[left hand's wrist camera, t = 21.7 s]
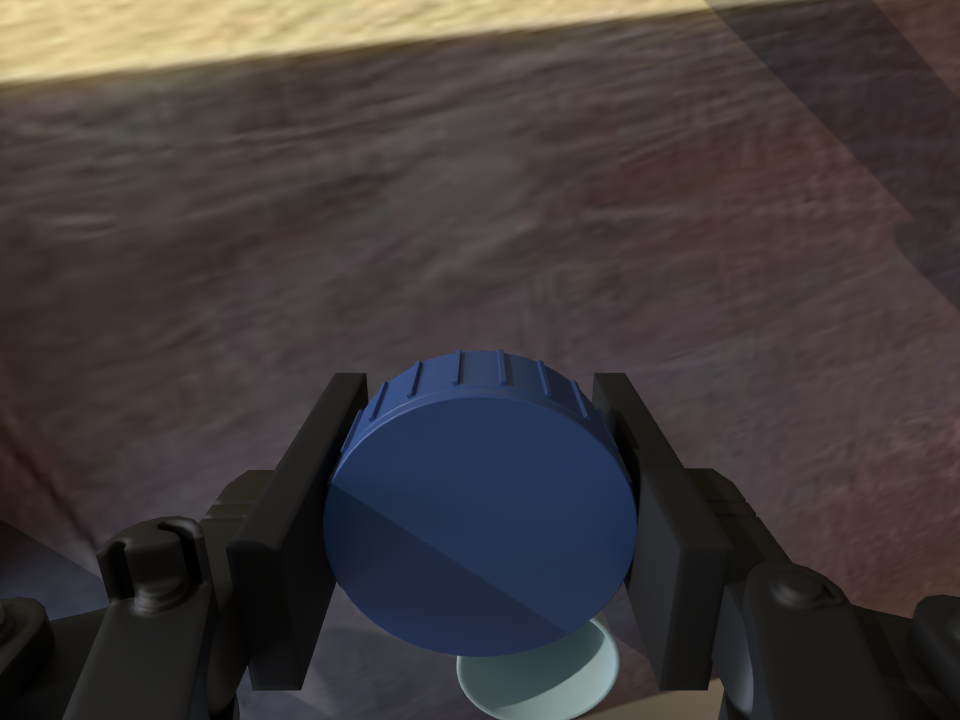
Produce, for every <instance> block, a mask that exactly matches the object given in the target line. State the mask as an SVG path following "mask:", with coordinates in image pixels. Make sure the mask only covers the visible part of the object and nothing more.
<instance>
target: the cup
mask: <svg viewBox="0 0 960 720" xmlns="http://www.w3.org/2000/svg"><path fill="white" fill-rule="evenodd" d="M619 666H620V657H619V651H618V647H617V644H616V642H615V639H614V637H613V634H612V632H611V630H610V627H609V625H608V623H607V620H606V618H605V616H604V613H603V611H602V610H601V611H600V612H599V613H598V614H597V615H596V616H595V617H593V618H592V619H591V620H590V621H588V622H587V623H586V624H584V625H583V626H582V627H580V628H579V629H577V630H575V631H574V632H572V633H571V634H569V635H567V636H565V637H563V638H561V639H559V640H557V641H555V642H553V643H551V644H548V645H545V646H542V647H539V648H536V649H534V650H530V651H525V652H521V653H517V654H511V655H504V656H496V657H467V656H458V657H457V675H458V679H459V682H460V685H461V687H462V689H463V691H464V693H465V694H466V695H467V697H468V698H469V699H470V700H471V701H472V702H473V703H474V704H475V705H476V706H477V707H478V708H479V709H481V710H482V711H484V712H485V713H487V714H489V715H491V716H493V717H495V718H498V719H500V720H570V719H572V718H575V717H577V716H579V715H581V714H584V713H585V712H587V711H589V710H590V709H592V708H593V707H595V706H596V705H597V704H598V703H599V702H601V701H602V700H603V699H604V698H605V696H606V695H607V694H608V693H609V691H610V690H611V688H612V687H613V685H614V683H615V681H616V679H617V676H618V672H619Z"/></svg>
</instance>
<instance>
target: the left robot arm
mask: <svg viewBox="0 0 960 720" xmlns="http://www.w3.org/2000/svg"><path fill="white" fill-rule="evenodd" d="M592 404H593V406H594V407H595V409H598V408H600V410H601V411H602V413H603V415H604V418H605V420H606V422H607V424H608V426H609V429H610V431H611V433H612V435H613V438H614V440H615V442H616V444H617V446H618V449H619V452H620V454H621V457H622V459H623V461H624V463H625V466H626V468H627V470H628V472H629V474H630V477H631V479H632V481H633V484H634V486H633V487H632V490H633V494H634V497H635V501H636V505H637V514H638V526H637V536H636V544H635V552H634V558H633V561H632V563H631V566H630V569H629V571H628V574H627V576H626V577H625V579H624V583H625V587H626V590H627V593H628V596H629V599H630V602H631V605H632V608H633V611H634V614H635V617H636V620H637V623H638V626H639V629H640V632H641V635H642V639H643V642H644V645H645V648H646V651H647V654H648V657H649V660H650V663H651V666H652V669H653V672H654V675H655V678H656V681H657V684H658V687H659V690H708V686H709V680H710V675H711V670H712V665H713V664H714V666H715V668H716V671H717V673H718V675H719V677H720V679H721V682H722V684H723V686H724V688H725V689H724V694H723V698H722V703H721V708H720V713H719V718H718V720H960V597H954V596H948V595H936V596H928V597H925V598H924V599H923V600H921V601H920V602H919V603H918V604H917V606H916V609H915V612H914V615H913V618H912V619H910V618H905V617H901V616H897V615H892V614H888V613H883V612H879V611H874V610H870V609H866V608H862V607H859V606H855V605H852V604H851V603H850V601H849V600H848V598H847V597H846V596H845V594H844V593H843V591H842V590H841V589H840V588H839V587H838V586H837V585H836V584H834V583H833V582H832V581H831V580H829V579H828V578H827V577H825V576H823V575H821V574H820V573H818V572H816V571H814V570H812V569H810V568H808V567H804V566H801V565H797V564H794V563H792V561H791V560H790V559H789V557H788V556H787V555H786V553H785V552H784V551H783V549H782V548H781V547H780V545H779V544H778V543H777V541H776V540H775V538H774V537H773V536H772V534H771V533H770V532H769V530H768V529H767V528H766V526H765V525H764V524H763V522H762V521H761V520H760V518H759V517H756V513H755V512H754V510H753V509H752V508H751V506H750V505H749V503H746V501H745V500H746V499H745V498H744V497H743V495H742V494H741V493H740V491H739V490H738V489H737V487H736V486H735V485H734V483H733V482H731V481H730V480H728V479H727V478H725V477H724V476H722V475H721V474H719V473H718V472H717V471H715V470H714V469H686V468H684V467H683V465H682V463H681V462H680V460H679V459H678V457H677V455H676V454H675V452H674V451H673V449H672V448H671V446H670V444H669V443H668V441H667V440H666V438H665V436H664V435H663V433H662V432H661V430H660V428H659V427H658V425H657V424H656V422H655V420H654V419H653V417H652V416H651V414H650V412H649V411H648V409H647V408H646V406H645V404H644V403H643V401H642V400H641V398H640V396H639V395H638V393H637V392H636V390H635V389H634V387H633V385H632V384H631V382H630V381H629V379H628V377H627V376H626V374H625V373H594V383H593V396H592ZM367 405H368V391H367V378H366V373H335V375H334V376H333V378H332V380H331V381H330V383H329V384H328V386H327V387H326V389H325V391H324V392H323V394H322V395H321V397H320V399H319V400H318V402H317V403H316V405H315V407H314V408H313V410H312V411H311V413H310V415H309V416H308V418H307V419H306V421H305V423H304V424H303V426H302V427H301V429H300V431H299V432H298V434H297V435H296V437H295V439H294V440H293V442H292V443H291V445H290V447H289V448H288V450H287V451H286V453H285V454H284V456H283V458H282V459H281V461H280V462H279V464H278V466H277V467H276V469H275V470H248V471H247V472H245V473H244V474H242V475H241V476H239V477H238V478H237V479H235V480H234V481H232V482H231V483H229V484H228V485H227V486H226V487H225V489H224V490H223V492H222V493H221V494H220V496H219V497H218V498H217V500H216V501H215V505H212V506H211V508H210V509H209V511H208V512H207V513H206V515H205V519H202V520H201V521H200V523H199V524H198V523H197V522H196V521H195V520H194V519H189V518H185V517H180V516H174V517H160V518H156V519H152V520H148V521H144V522H141V523H138V524H136V525H134V526H132V527H129V528H127V529H125V530H123V531H121V532H119V533H118V534H117V535H115V536H114V537H112V538H111V539H110V540H108V541H107V542H106V543H105V544H104V545H103V546H102V548H101V549H100V550H99V551H98V553H97V554H96V557H97V560H98V564H99V567H100V570H101V574H102V577H103V581H104V584H105V588H106V591H107V594H108V598H109V601H110V604H109V607H107V608H103V609H100V610H96V611H92V612H88V613H83V614H79V615H75V616H70V617H66V618H61V619H57V620H53V621H49V619H48V616H47V613H46V611H45V608H44V606H43V605H42V604H41V603H39V602H38V601H37V600H36V599H31V598H23V597H16V598H9V599H3V600H0V720H239V718H240V711H239V704H238V698H237V693H236V690H237V688H238V685H239V683H240V681H241V679H242V676H243V674H244V672H245V670H246V667H247V665H248V668H249V673H250V679H251V684H252V689H253V690H301V689H302V685H303V682H304V679H305V676H306V673H307V670H308V667H309V664H310V661H311V658H312V655H313V652H314V649H315V646H316V643H317V640H318V637H319V633H320V630H321V627H322V624H323V621H324V618H325V615H326V612H327V609H328V606H329V603H330V600H331V597H332V594H333V591H334V588H335V585H336V581H337V580H336V578H335V576H334V574H333V572H332V570H331V568H330V565H329V562H328V559H327V556H326V549H325V541H324V532H323V522H322V517H323V510H324V503H325V499H326V495H327V492H328V489H327V483H328V481H329V478H330V476H331V474H332V472H333V469H334V467H335V465H336V463H337V461H338V458H339V456H340V454H341V449H342V447H343V445H344V442H345V440H346V438H347V436H348V434H349V431H350V429H351V427H352V425H353V422H354V420H355V418H356V416H357V414H358V412H359V410H360V409H361V410H363V411H364V410H365V408H366V407H367Z"/></svg>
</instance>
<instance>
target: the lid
mask: <svg viewBox="0 0 960 720" xmlns="http://www.w3.org/2000/svg"><path fill="white" fill-rule="evenodd" d="M633 486H634V484H633V481H632V479H631V477H630V474H629V472H628V470H627V468H626V466H625V463H624V461H623V459H622V457H621V454H620V452H619V449H618V446H617V444H616V442H615V440H614V438H613V435H612V433H611V431H610V429H609V426H608V424H607V422H606V420H605V418H604V415H603V413H602V411H601V410H600V408H598V409H595V407H594V406H593V404H592V403H591V402H590V401H589V400H588V398H587V397H586V396H585V395H584V394H583V393H582V391H581V390H580V389H579V386H578V384H577V382H576V381H574V380H573V381H572V382H570V381H569V380H568V379H566V378H565V377H563V376H562V375H560V374H559V373H557V372H556V371H554V370H553V369H551V368H549V367H547V366H545V365H544V362H543V361H541V360H538V362H536V361H533V360H530V359H527V358H524V357H521V356H517V355H512V354H507V353H503V350H500V349H498V352H491V351H468V352H461V350H455V353H453V354H447V355H443V356H440V357H437V358H433V359H430V360H427V361H425V362H423V363H421V361H417V362H415V366H414V367H411V368H410V369H408V370H406V371H405V372H403V373H401V374H400V375H398V376H397V377H395V378H394V379H393V380H392V381H390V382H389V383H387V382H386V381H385V382H384V383H383V384H382V385H381V388H380V390H379V392H378V393H377V394H376V395H375V397H374V398H373V399H372V400H371V401H370V402H369V404H368V405H367V407H366V408H365V410H364V411H363V410H361V409H360V410H359V412H358V414H357V416H356V418H355V420H354V422H353V425H352V427H351V429H350V431H349V434H348V436H347V438H346V440H345V442H344V445H343V447H342V449H341V454H340V456H339V458H338V461H337V463H336V465H335V467H334V469H333V472H332V474H331V476H330V478H329V481H328V483H327V489H328V492H327V495H326V499H325V503H324V510H323V517H322V522H323V532H324V541H325V549H326V556H327V559H328V562H329V565H330V568H331V570H332V572H333V574H334V576H335V578H336V580H337V582H338V584H339V586H340V587H341V589H342V590H343V591H344V593H345V594H346V596H347V597H348V599H349V600H350V601H351V602H352V603H353V604H354V605H355V606H356V607H357V608H358V610H359V611H360V612H361V613H363V614H364V615H365V616H366V617H367V618H368V619H370V620H371V621H372V622H373V623H374V624H376V625H377V626H379V627H380V628H382V629H383V630H385V631H387V632H388V633H390V634H392V635H394V636H395V637H397V638H399V639H401V640H403V641H405V642H408V643H410V644H413V645H416V646H418V647H421V648H424V649H428V650H431V651H435V652H439V653H444V654H450V655H456V656H467V657H496V656H504V655H511V654H517V653H521V652H525V651H530V650H534V649H536V648H539V647H542V646H545V645H548V644H551V643H553V642H555V641H557V640H559V639H561V638H563V637H565V636H567V635H569V634H571V633H572V632H574V631H575V630H577V629H579V628H580V627H582V626H583V625H584V624H586V623H587V622H588V621H590V620H591V619H592V618H593V617H595V616H596V615H597V614H598V613H599V612H600V611H601V610H602V609H603V608H604V607H605V606H606V605H607V604H608V603H609V601H610V600H611V599H612V597H613V596H614V595H615V594H616V592H617V591H618V590H619V588H620V586H621V584H622V583H623V581H624V579H625V577H626V576H627V574H628V571H629V569H630V566H631V563H632V561H633V558H634V552H635V544H636V536H637V526H638V514H637V505H636V501H635V497H634V494H633V490H632V487H633Z"/></svg>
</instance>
